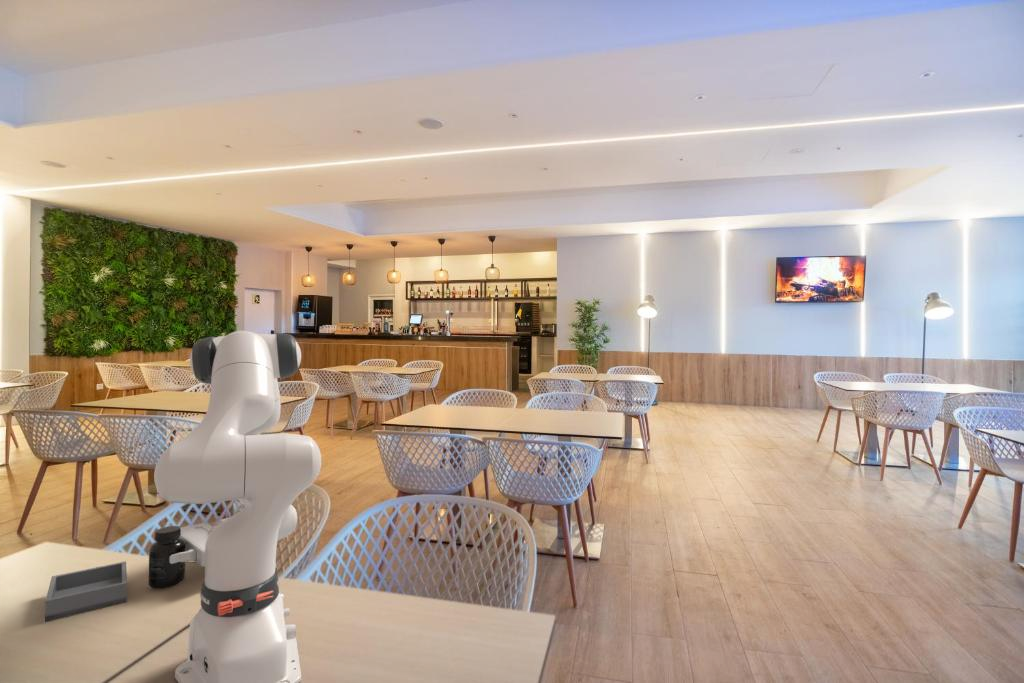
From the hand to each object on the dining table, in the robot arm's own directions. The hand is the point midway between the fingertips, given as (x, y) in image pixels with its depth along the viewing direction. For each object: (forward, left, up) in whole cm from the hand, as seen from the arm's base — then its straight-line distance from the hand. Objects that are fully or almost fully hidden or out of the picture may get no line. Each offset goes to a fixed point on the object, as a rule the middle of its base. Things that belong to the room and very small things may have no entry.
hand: (162, 554), depth 112 cm
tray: (+2, +13, -7) cm, 15 cm away
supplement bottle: (0, -1, -7) cm, 7 cm away
